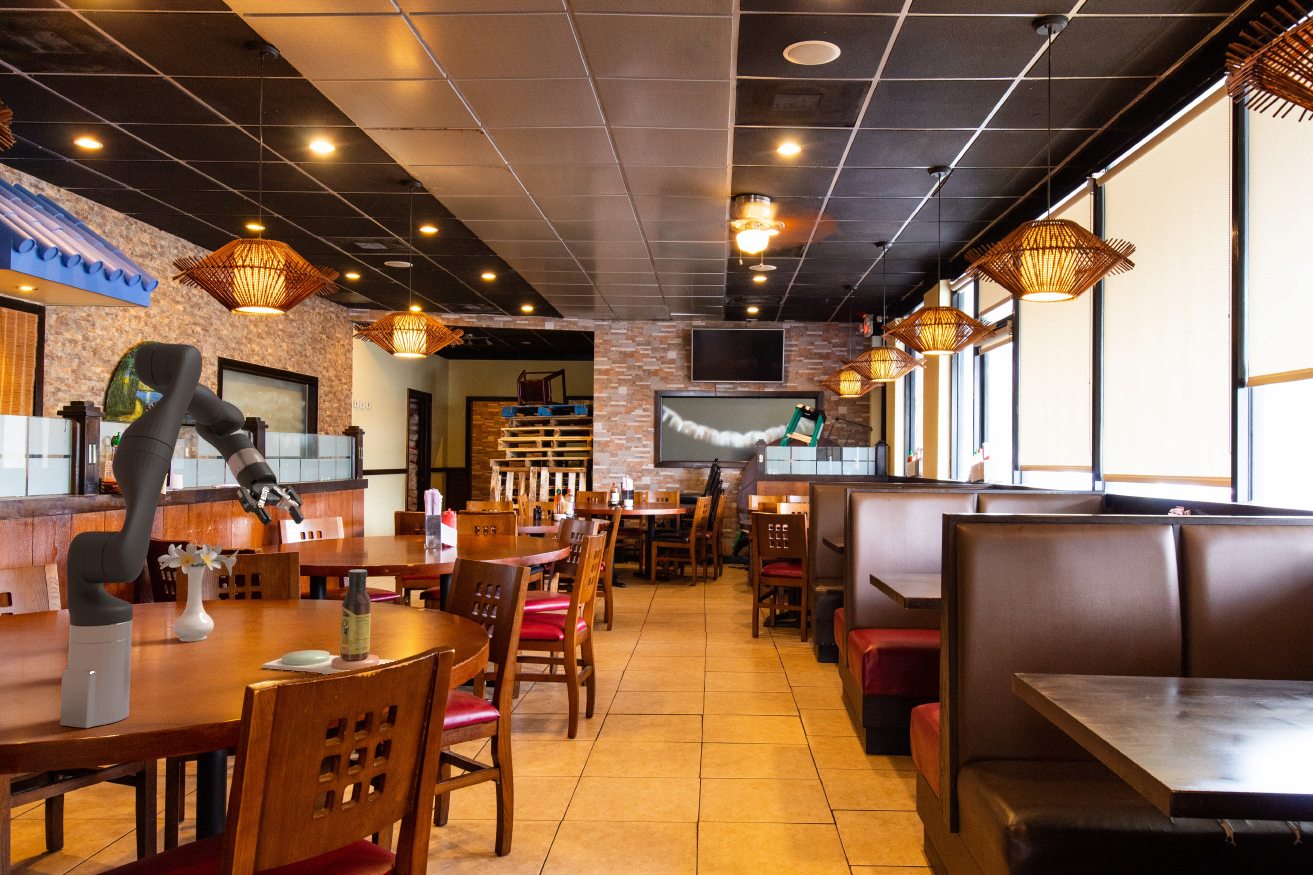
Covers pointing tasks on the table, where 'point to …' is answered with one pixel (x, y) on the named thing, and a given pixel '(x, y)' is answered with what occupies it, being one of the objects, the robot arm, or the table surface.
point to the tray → (321, 662)
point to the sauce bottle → (356, 618)
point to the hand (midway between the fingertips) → (285, 522)
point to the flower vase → (195, 587)
